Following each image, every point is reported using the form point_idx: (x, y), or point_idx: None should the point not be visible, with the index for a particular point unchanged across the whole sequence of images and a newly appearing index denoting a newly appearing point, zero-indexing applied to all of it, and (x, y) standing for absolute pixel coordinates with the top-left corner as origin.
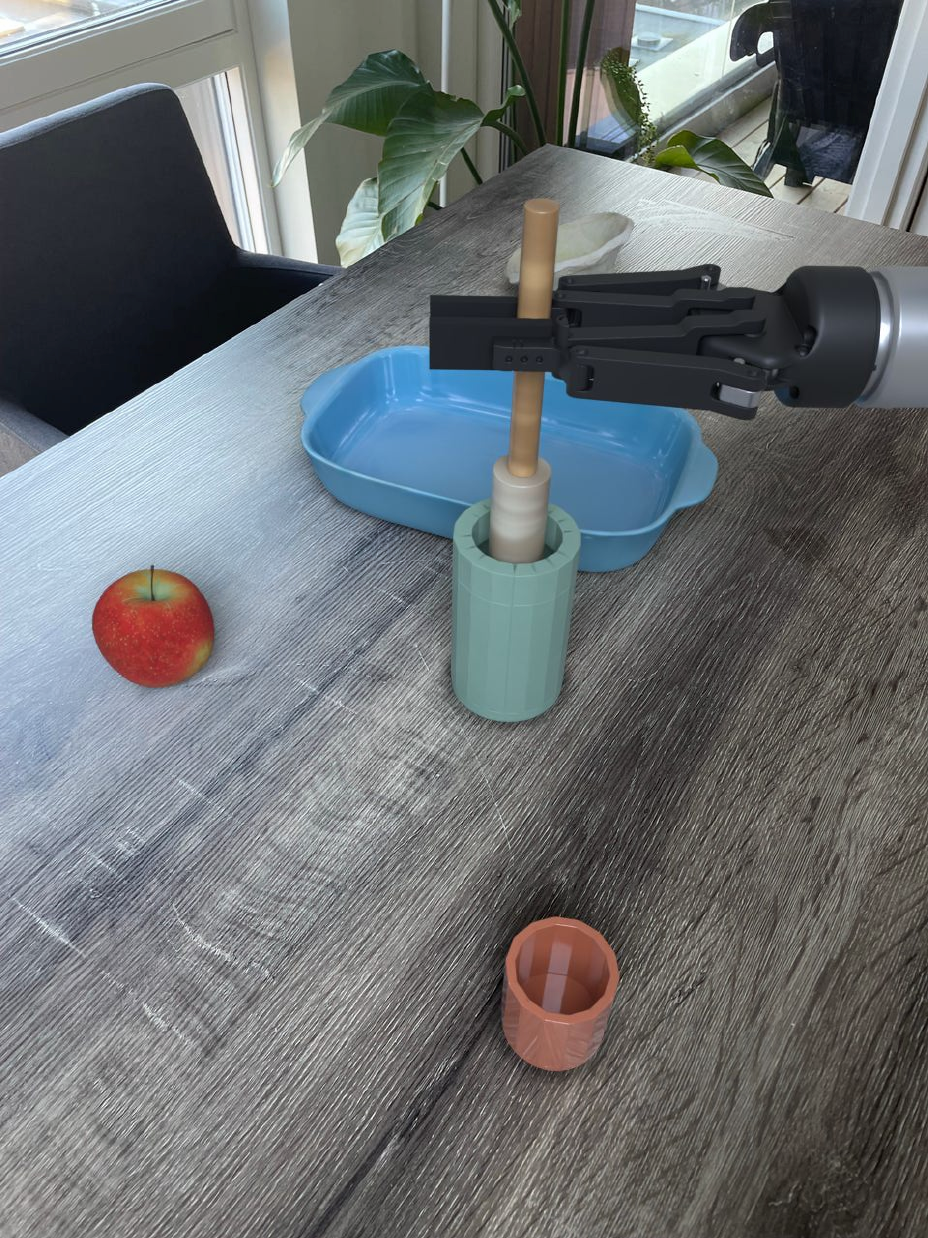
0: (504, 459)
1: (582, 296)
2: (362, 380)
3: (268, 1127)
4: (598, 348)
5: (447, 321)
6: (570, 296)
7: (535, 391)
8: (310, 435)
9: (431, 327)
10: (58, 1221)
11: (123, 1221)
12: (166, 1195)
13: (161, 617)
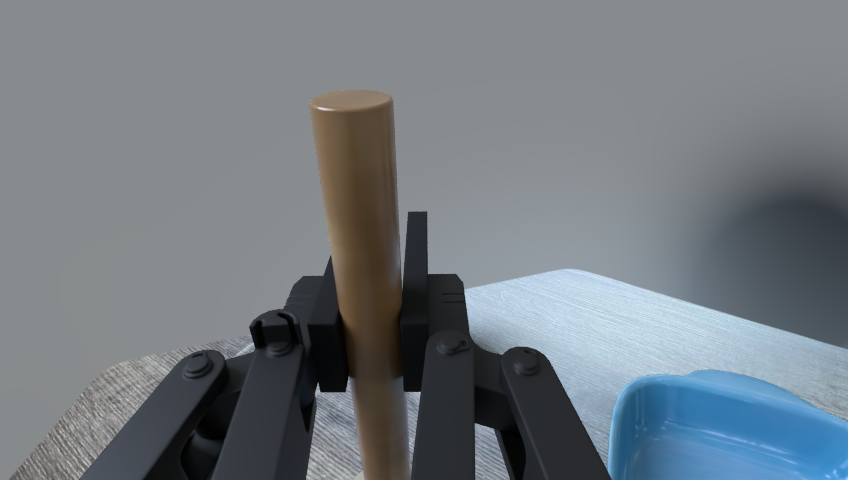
0: None
1: (445, 384)
2: (805, 427)
3: (72, 462)
4: (191, 397)
5: None
6: (444, 363)
7: (354, 413)
8: (659, 385)
9: None
10: (95, 380)
11: (75, 403)
12: (73, 419)
13: None
